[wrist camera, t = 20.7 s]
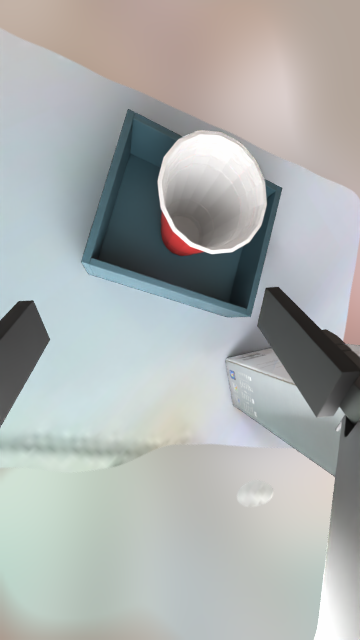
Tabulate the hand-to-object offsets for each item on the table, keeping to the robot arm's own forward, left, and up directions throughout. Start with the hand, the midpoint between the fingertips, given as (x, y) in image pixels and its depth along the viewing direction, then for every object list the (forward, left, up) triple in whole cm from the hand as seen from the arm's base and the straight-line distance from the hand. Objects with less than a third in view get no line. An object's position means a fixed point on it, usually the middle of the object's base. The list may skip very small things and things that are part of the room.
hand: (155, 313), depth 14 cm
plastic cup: (+3, +13, -18) cm, 22 cm away
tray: (+3, +13, -18) cm, 22 cm away
